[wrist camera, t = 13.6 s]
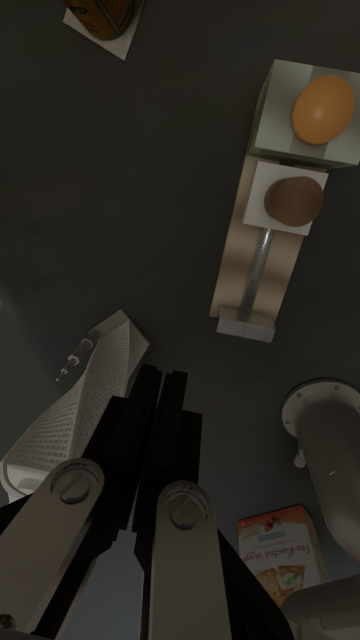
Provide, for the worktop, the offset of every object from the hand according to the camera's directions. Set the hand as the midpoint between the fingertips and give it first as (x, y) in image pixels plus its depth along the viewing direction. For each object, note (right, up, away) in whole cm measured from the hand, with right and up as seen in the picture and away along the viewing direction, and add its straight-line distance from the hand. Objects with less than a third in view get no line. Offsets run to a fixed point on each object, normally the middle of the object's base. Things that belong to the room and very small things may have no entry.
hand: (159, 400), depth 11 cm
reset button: (+12, +21, +15) cm, 28 cm away
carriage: (+12, +17, +23) cm, 31 cm away
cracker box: (+20, -37, +49) cm, 65 cm away
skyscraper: (-8, 0, +35) cm, 36 cm away
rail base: (+12, +15, +26) cm, 32 cm away
